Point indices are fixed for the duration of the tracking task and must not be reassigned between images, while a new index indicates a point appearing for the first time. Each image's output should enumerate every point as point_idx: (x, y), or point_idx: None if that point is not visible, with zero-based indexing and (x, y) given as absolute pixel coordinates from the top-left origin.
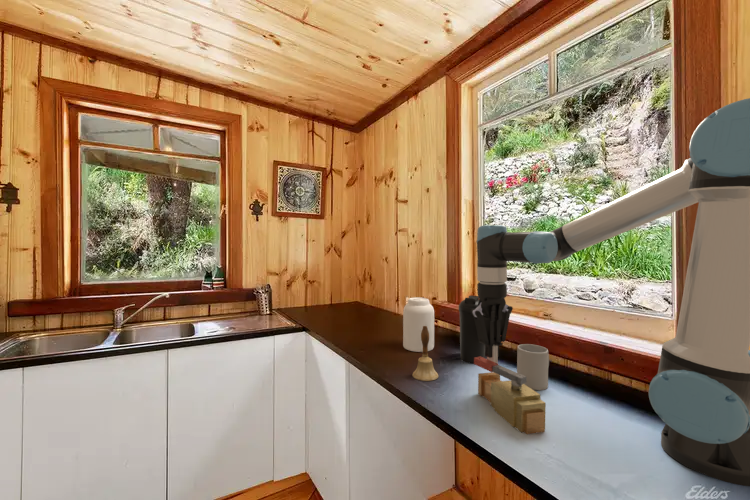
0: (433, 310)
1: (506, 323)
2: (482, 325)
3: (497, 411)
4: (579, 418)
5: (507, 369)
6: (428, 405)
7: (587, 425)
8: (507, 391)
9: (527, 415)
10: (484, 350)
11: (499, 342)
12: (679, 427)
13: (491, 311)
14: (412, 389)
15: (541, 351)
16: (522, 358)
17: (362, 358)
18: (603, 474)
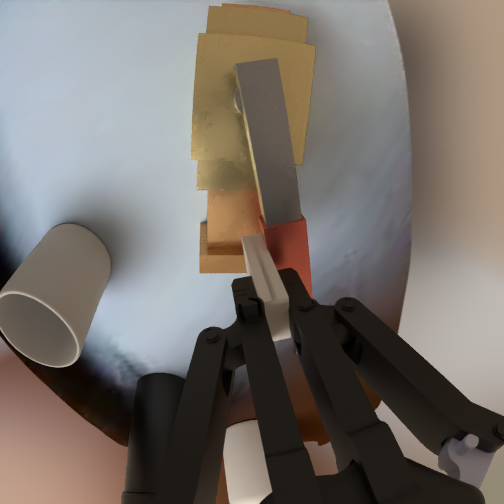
0: (237, 501)
1: (191, 432)
2: (432, 378)
3: None
4: (73, 64)
5: (263, 163)
6: (404, 216)
7: (83, 33)
8: (305, 90)
9: (287, 11)
10: (139, 400)
11: (248, 318)
12: None
13: (421, 489)
14: (388, 286)
15: (12, 323)
16: (82, 307)
17: (375, 394)
18: None
